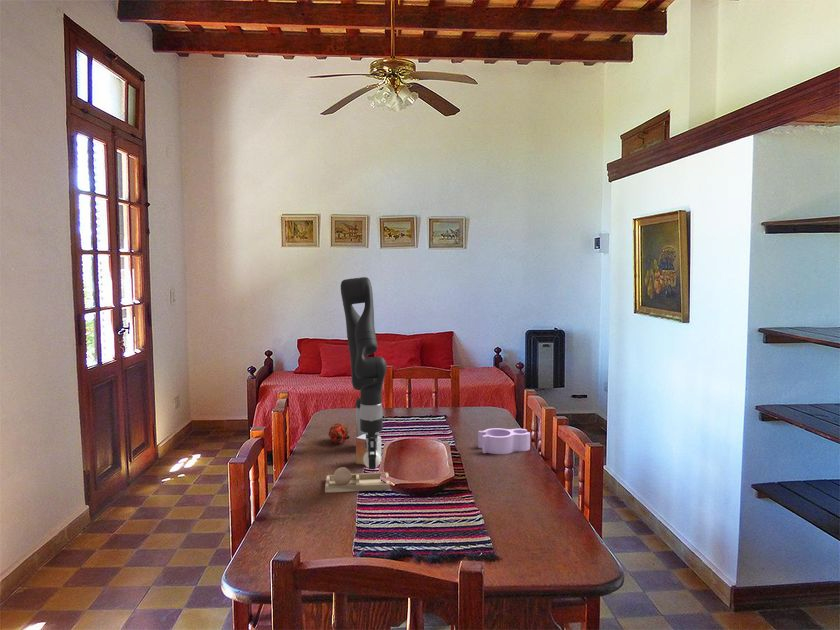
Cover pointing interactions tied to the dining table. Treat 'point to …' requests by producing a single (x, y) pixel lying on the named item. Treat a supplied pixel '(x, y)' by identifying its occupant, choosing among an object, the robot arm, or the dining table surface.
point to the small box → (364, 448)
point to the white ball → (366, 459)
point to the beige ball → (342, 476)
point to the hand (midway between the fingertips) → (372, 465)
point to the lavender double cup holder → (503, 440)
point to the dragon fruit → (338, 433)
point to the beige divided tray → (358, 483)
